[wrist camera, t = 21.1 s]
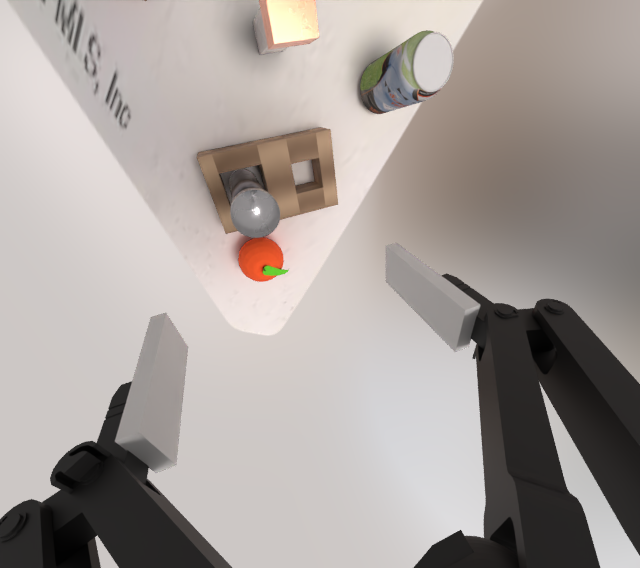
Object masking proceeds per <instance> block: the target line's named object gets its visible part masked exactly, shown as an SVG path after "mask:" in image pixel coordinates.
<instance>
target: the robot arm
mask: <svg viewBox="0 0 640 568" xmlns="http://www.w3.org/2000/svg"><path fill="white" fill-rule="evenodd" d="M386 282H387V283H388V284H389V285H390V286H391V287H392V288H393V289H394V290H395V291H396V292H397V293H398V294H399V295H400V297H402V299H403V300H404V301H405V302H406V303H407V304H408V305H409V306H411V308H412V309H413V310H414V311H415V312H416V313H417V314H418V315H419V316H420V317H421V318H422V319H423V320H424V321H425V322H426V323H427V324H428V325H429V326H430V327H431V328H432V329H433V330H434V331H435V332H436V333H437V334H438V335H439V336H440V337H441V338H442V339H443V340H444V341H445V342H446V343H447V344H448V345H449V346H450V347H451V348H452V349H453V350H454V351H455V352H457V351H460V350H462V349H465V348H467V347H469V343H470V340H471V339H473V341H475V342H476V343H477V345H476V348H475V351H474V354H473V359H475V357H476V362H477V377H478V391H479V406H480V421H481V436H482V450H483V465H484V480H485V494H486V506H485V513H484V538H481V537H477V536H464V534H463V533H462V531H461V530H460V531H458V532H456V533H454V534H452V535H450V536H449V537H447V538H445V539H443V540H441V541H439V542H438V543H436V544H434V545H432V546H431V548H430V549H429V550H428V551H427V553H426V554H425V555H424V556H423V557H422V559H421V560H420V561H419V562H418V563H417V564H416V565H415V567H414V568H600V565H599V562H598V558H597V555H596V551H595V548H594V544H593V541H592V537H591V534H590V530H589V527H588V523H587V520H586V516H585V513H584V511H583V508H582V506H581V504H580V502H579V501H578V499H577V498H576V497H574V496H573V495H572V494H570V493H569V491H568V489H567V487H566V484H565V481H564V477H563V473H562V469H561V465H560V462H559V457H558V454H557V450H556V446H555V442H554V438H553V434H552V430H551V426H550V423H549V419H548V415H547V411H546V407H545V403H544V399H543V396H542V392H541V388H540V384H541V385H542V387H543V389H544V391H545V393H546V394H547V396H548V398H549V400H550V401H551V403H552V405H553V407H554V408H555V410H556V412H557V414H558V415H559V417H560V419H561V420H562V422H563V424H564V426H565V427H566V429H567V431H568V433H569V435H570V436H571V438H572V440H573V442H574V443H575V445H576V447H577V449H578V450H579V452H580V454H581V455H582V457H583V459H584V461H585V463H586V464H587V466H588V468H589V470H590V471H591V473H592V475H593V476H594V478H595V480H596V482H597V484H598V485H599V487H600V489H601V491H602V492H603V494H604V496H605V498H606V499H607V501H608V503H609V505H610V506H611V508H612V510H613V512H614V513H615V515H616V517H617V519H618V520H619V522H620V524H621V526H622V527H623V529H624V531H625V533H626V534H627V536H628V537H629V539H630V541H631V542H632V544H633V546H634V547H635V549H636V550H637V552H638V554H639V555H640V384H639V383H638V382H637V381H636V379H635V378H634V377H633V376H632V375H631V374H630V373H629V372H628V371H627V370H626V368H625V367H624V366H623V365H622V364H621V363H620V362H619V360H617V358H616V357H615V356H614V355H613V354H612V353H611V352H610V350H609V349H608V348H607V347H606V346H605V345H604V344H603V343H602V341H601V340H600V339H599V338H598V337H597V336H596V335H595V334H594V333H593V331H592V330H591V329H590V328H589V327H588V326H587V325H586V324H585V323H584V321H583V320H582V319H581V318H580V317H579V316H578V315H577V313H576V312H575V311H574V310H573V309H572V308H571V307H570V306H568V305H567V304H565V303H563V302H561V301H558V300H554V299H541V300H539V301H537V303H536V305H535V308H531V309H520V310H517V309H516V308H515V307H512V306H510V305H507V304H502V303H495V304H494V303H492V302H491V301H489V300H488V299H487V298H485V297H484V296H482V295H481V294H479V293H478V292H477V291H475V290H474V289H472V288H470V286H468V285H467V284H464V282H462V281H461V280H459V279H458V278H457V277H454V276H451V275H449V274H444V275H442V276H441V275H440V274H438V273H437V272H435V271H434V270H433V269H432V268H430V267H429V266H427V265H426V264H425V263H423V262H422V261H421V260H420V259H418V258H417V257H416V256H414V255H413V254H411V253H410V252H409V251H407V250H406V249H405V248H403V247H402V246H401V245H399V244H398V243H394V244H391V245H387V246H386ZM187 352H188V346H187V344H186V343H185V341H184V340H183V338H182V337H181V335H180V333H179V332H178V330H177V329H176V327H175V326H174V325H173V323H172V321H171V320H170V318H169V317H168V315H167V314H166V313H163V314H160V315H157V316H153V317H151V319H150V322H149V326H148V329H147V332H146V336H145V339H144V343H143V346H142V349H141V353H140V356H139V360H138V363H137V367H136V370H135V374H134V377H133V380H132V382H129V383H126V384H123V385H121V386H120V387H119V389H118V390H117V391H116V393H115V394H114V396H113V397H112V400H111V403H110V406H109V411H108V412H107V415H106V417H105V418H106V420H105V421H104V423H103V426H102V429H101V432H100V435H99V438H98V441H97V443H95V442H93V441H88V442H84V443H81V444H79V445H77V446H75V447H74V448H73V449H71V450H70V451H68V452H67V453H66V454H65V455H64V456H63V457H62V458H61V459H60V460H59V462H58V463H57V465H56V466H55V468H54V469H53V472H52V474H51V477H50V481H51V485H53V486H55V487H57V488H59V489H61V490H60V491H58V492H57V493H55V494H54V495H52V496H51V497H49V498H48V499H46V500H45V501H43V502H42V503H41V502H39V501H36V500H32V499H31V500H28V501H24V502H22V503H21V504H18V505H17V506H15V507H13V508H12V509H11V510H10V511H9V512H7V513H6V514H5V515H4V516H3V517H2V518H1V519H0V568H101V567H100V562H99V557H98V551H97V546H96V541H95V537H96V536H97V535H98V537H99V538H100V540H101V541H102V543H103V544H104V546H105V547H106V549H107V550H108V552H109V553H110V555H111V556H112V558H113V559H114V561H115V562H116V564H117V565H118V567H119V568H232V567H231V566H230V565H229V564H228V563H227V562H226V561H225V560H224V558H223V557H222V556H221V555H220V554H219V553H218V552H217V551H216V550H215V549H214V548H213V547H212V546H211V545H210V544H209V543H208V542H207V541H206V539H205V538H204V537H202V535H201V534H200V533H199V532H198V531H197V530H196V529H195V528H194V527H193V526H192V525H191V524H190V523H189V522H188V521H187V519H186V518H185V517H184V516H183V515H182V514H181V513H180V512H179V511H178V510H177V509H176V508H175V507H174V506H173V505H172V504H171V503H170V502H169V501H168V499H167V498H166V497H165V496H164V495H163V494H162V493H161V492H160V491H159V490H158V489H157V488H156V487H155V486H154V485H153V484H152V483H151V482H150V481H149V480H148V479H147V474H148V468H150V469H151V470H153V471H154V472H155V473H158V472H160V471H163V470H165V469H167V468H170V467H172V466H175V465H176V462H177V452H178V442H179V433H180V423H181V412H182V402H183V392H184V383H185V372H186V363H187ZM539 382H540V384H539Z"/></svg>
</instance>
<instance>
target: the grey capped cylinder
mask: <svg viewBox="0 0 640 568" xmlns="http://www.w3.org/2000/svg"><path fill="white" fill-rule="evenodd" d="M229 186H230V190H231V195H232V203H231V207H230V214H231V220H232V222H233V225H234V226H235V228H236V229H237V230H238V231H239V232H240V233H242V234H243V235H245V236H248V237H252V238H260V237H264V236H267V235H269V234H270V233H271V232H273V231H274V230H275V228H276V227H277V225H278V223H279V220H280V209H279V206H278V203H277V202H276V200H275V199H274V197H273V196H272V195H271V194H270V193H268V192H267V191H265V190H263V188H262V186H261V185H260V183H259V181H258V180H257V178H256V176H255V175H254V174H253V173H252V172H251V171H249V170H246V169H238V170H236V171H234V172H233V173H232V174H231V176H230V179H229Z"/></svg>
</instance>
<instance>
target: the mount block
mask: <svg viewBox="0 0 640 568" xmlns="http://www.w3.org/2000/svg"><path fill="white" fill-rule="evenodd" d="M197 159H198V162H199V165H200V167H201V170H202V172H203V175H204V178H205V180H206V183H207V185H208V188H209V191H210V193H211V196H212V199H213V201H214V204H215V206H216V209H217V212H218V214H219V217H220V219H221V222H222V225H223V227H224V230H225V233H226V234H227V233H231V232H235V231H238V230H237V229H236V228H235V226H234V225H233V222H232V220H231V214H230V207H231V204H230V201H229V198H228V195H227V192H226V190H225V187H224V184H223V181H222V178H221V175H220V173H224V172H229V171H233V170H238V169H242V168H247V167H251V166H256V165H259V167H260V171H261V175H262V179H263V182H264V186H265V190H266V191H267V192H268V193H270V194H271V195H272V196H273V197H274V199H275V200H276V202H277V203H278V206H279V209H280V220H281V219H284V218H288V217H292V216H296V215H300V214H303V213H307V212H311V211H315V210H319V209H322V208H326V207H330V206H334V205H338V198H337V189H336V179H335V169H334V160H333V150H332V140H331V131H330V129H326V128H316V129H311V130H306V131H301V132H296V133H291V134H286V135H282V136H277V137H272V138H267V139H262V140H257V141H252V142H248V143H243V144H238V145H233V146H228V147H223V148H218V149H213V150H209V151H204V152H199V153H198V155H197ZM311 159H312V166H313V173H314V179H315V181H314V182H310V183H306V184H301V185H297V186H295V183H294V178H293V173H292V167H291V164H293V163H298V162H302V161H306V160H311Z"/></svg>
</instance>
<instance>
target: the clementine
mask: <svg viewBox="0 0 640 568" xmlns="http://www.w3.org/2000/svg"><path fill="white" fill-rule="evenodd" d="M238 261H239V266H240V268H241V270H242V272H243V273H244V274H245V275H246V276H247V277H249V278H250V279H252V280H255V281H261V282H263V281H268V280H271V279H273V278H274V277H276V276H277V275H282V274H285V273H286V272H288V270H289V269H288V270H282V266H283V262H284V261H283V253H282V251H281V249H280V247H279V246H278V245H277V244H276V243H275V242H274V241H272V240H270V239H268V238H262V237H260V238H253V239H251V240H249V241H248V242H246V243H245V244H244V245H243V246H242V247H241V250H240V252H239V258H238Z"/></svg>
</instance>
